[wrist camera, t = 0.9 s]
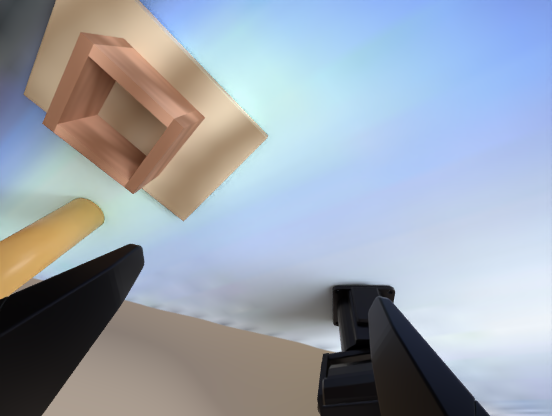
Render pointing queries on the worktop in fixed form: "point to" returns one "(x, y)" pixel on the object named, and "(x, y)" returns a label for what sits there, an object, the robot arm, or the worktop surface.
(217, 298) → the worktop surface
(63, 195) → the worktop surface
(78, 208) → the orange tapered piece
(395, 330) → the robot arm
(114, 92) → the beige board with box
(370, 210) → the worktop surface
